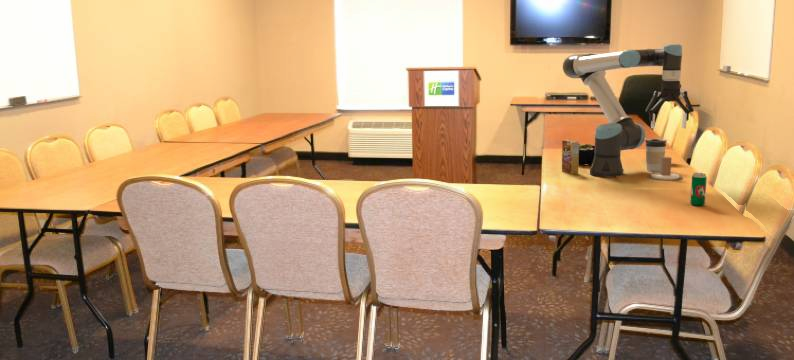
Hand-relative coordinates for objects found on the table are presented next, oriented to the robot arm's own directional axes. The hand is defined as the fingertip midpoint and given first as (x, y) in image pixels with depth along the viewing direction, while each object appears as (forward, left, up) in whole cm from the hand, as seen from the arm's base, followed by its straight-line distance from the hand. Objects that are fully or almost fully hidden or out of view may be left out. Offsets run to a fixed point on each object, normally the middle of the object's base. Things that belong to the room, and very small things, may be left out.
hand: (668, 128), depth 301 cm
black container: (-5, +49, -23) cm, 54 cm away
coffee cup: (+8, +15, -23) cm, 29 cm away
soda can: (-29, -42, -23) cm, 56 cm away
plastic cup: (+28, +34, -23) cm, 50 cm away
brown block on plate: (-1, 0, -22) cm, 22 cm away
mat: (-1, 0, -23) cm, 23 cm away
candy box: (-27, +34, -23) cm, 49 cm away
